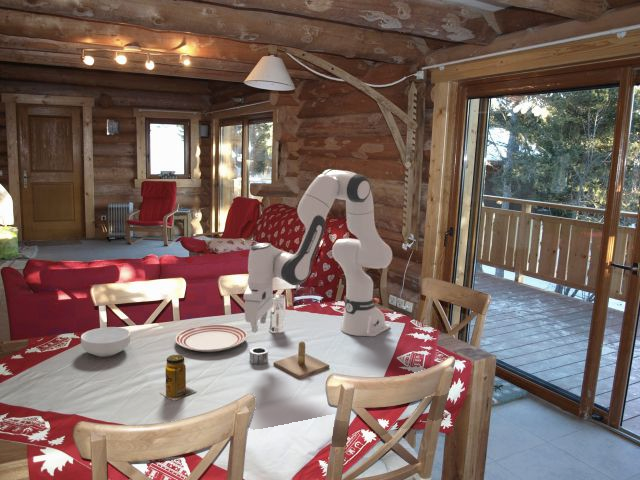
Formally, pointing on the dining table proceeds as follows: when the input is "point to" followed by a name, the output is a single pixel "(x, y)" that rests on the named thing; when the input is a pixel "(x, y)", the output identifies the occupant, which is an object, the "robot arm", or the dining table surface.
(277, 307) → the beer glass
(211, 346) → the dinner plate
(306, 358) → the wooden peg stand
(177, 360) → the condiment
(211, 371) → the dining table surface
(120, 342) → the cereal bowl
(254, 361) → the ring
